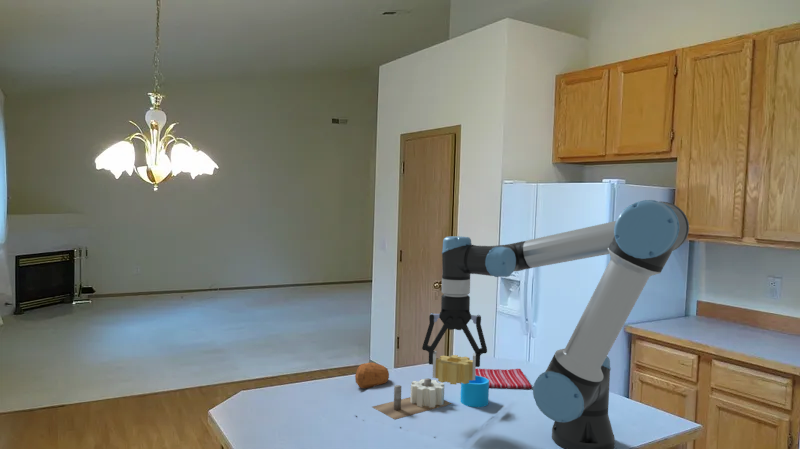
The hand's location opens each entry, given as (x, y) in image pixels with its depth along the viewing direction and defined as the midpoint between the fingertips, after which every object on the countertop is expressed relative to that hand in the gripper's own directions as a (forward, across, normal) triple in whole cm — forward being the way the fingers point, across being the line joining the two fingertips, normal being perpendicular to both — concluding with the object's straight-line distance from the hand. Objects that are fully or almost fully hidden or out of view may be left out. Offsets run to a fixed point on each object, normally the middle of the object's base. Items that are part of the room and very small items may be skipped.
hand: (453, 377), depth 147 cm
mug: (+13, -5, -17) cm, 22 cm away
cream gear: (+11, +8, -13) cm, 19 cm away
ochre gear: (0, 0, 0) cm, 0 cm away
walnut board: (+13, +12, -9) cm, 20 cm away
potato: (+13, +27, -27) cm, 40 cm away
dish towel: (+14, -12, -42) cm, 46 cm away
